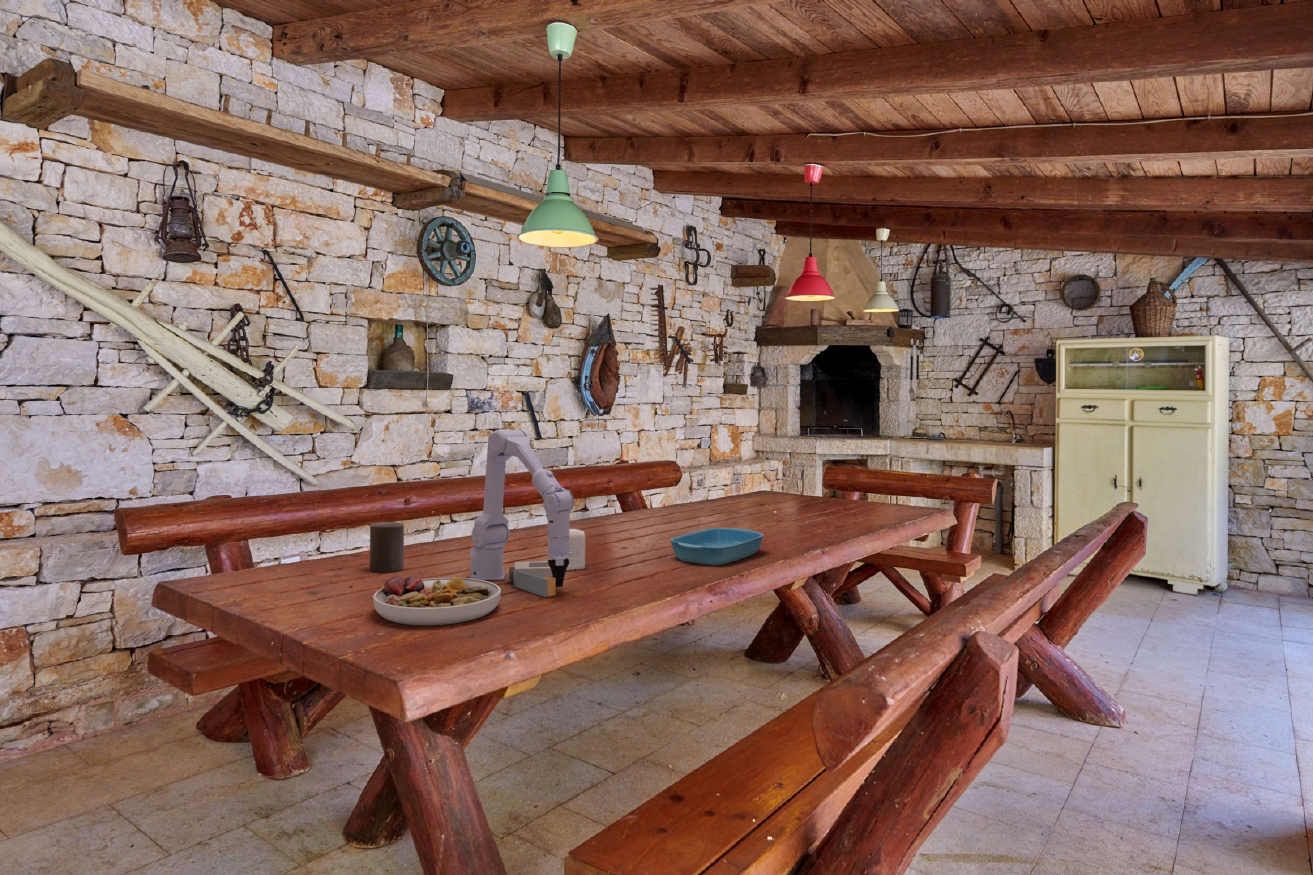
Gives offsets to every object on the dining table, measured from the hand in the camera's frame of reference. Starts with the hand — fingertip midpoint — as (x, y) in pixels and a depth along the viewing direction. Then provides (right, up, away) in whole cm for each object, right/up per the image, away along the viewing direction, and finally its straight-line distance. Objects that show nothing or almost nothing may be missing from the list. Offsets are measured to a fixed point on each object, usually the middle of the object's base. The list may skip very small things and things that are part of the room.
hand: (558, 586), depth 211 cm
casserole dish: (+47, 0, +52) cm, 70 cm away
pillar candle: (-55, 0, +27) cm, 61 cm away
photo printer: (0, -1, +29) cm, 29 cm away
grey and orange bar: (-7, -2, +2) cm, 7 cm away
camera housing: (-8, -1, +13) cm, 15 cm away
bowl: (-27, -3, -17) cm, 32 cm away
